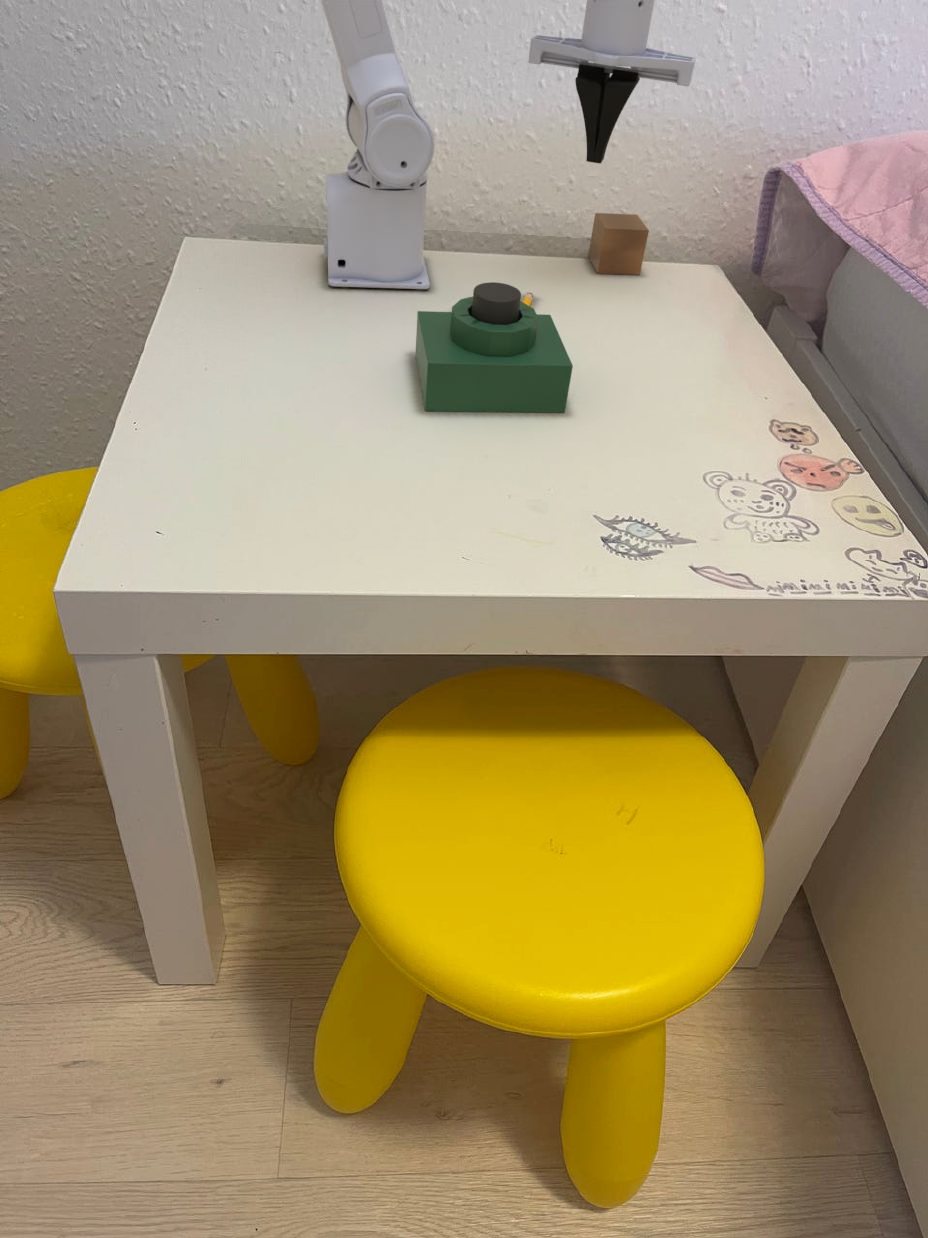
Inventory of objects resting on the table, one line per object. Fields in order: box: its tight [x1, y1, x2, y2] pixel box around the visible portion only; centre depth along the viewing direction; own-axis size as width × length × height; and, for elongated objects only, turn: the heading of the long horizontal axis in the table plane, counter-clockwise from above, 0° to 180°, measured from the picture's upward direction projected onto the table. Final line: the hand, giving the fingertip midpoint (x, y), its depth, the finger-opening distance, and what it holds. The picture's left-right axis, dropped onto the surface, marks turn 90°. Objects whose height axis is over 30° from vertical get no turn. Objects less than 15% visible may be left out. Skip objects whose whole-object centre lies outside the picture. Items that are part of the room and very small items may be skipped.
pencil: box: [522, 291, 534, 307], centre depth 85 cm, size 1×8×1 cm, turn 168°
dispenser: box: [414, 296, 573, 414], centre depth 72 cm, size 11×9×6 cm
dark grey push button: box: [472, 281, 522, 325], centre depth 70 cm, size 4×4×2 cm
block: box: [587, 212, 650, 276], centre depth 94 cm, size 4×4×4 cm
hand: (595, 159), depth 87 cm, fingers closed
